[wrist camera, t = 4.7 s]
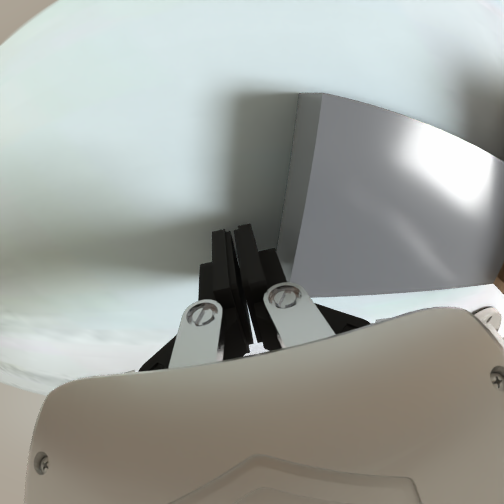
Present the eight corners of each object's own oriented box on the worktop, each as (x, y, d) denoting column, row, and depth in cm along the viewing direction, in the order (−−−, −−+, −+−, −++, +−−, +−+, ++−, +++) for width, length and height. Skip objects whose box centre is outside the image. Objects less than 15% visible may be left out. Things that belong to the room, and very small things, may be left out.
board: (503, 164, 12) (533, 180, 10) (470, 260, 16) (493, 283, 14) (297, 93, 10) (322, 92, 7) (273, 259, 14) (285, 298, 11)
